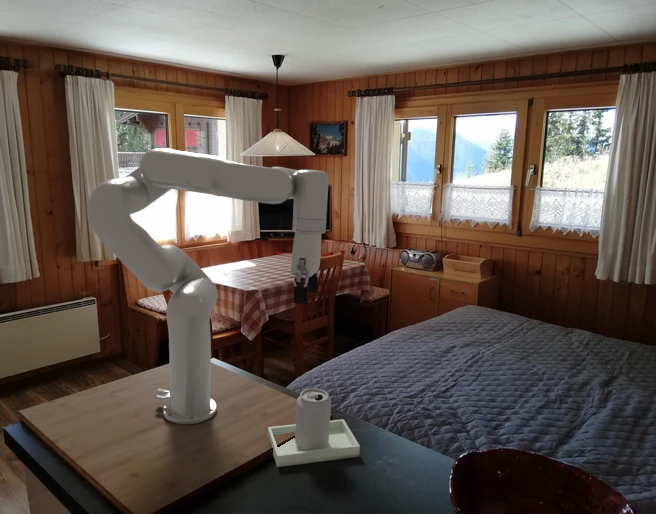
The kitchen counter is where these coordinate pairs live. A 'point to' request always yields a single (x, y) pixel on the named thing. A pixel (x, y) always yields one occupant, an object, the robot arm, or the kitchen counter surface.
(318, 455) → the tray
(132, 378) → the kitchen counter surface
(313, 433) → the can
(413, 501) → the kitchen counter surface
